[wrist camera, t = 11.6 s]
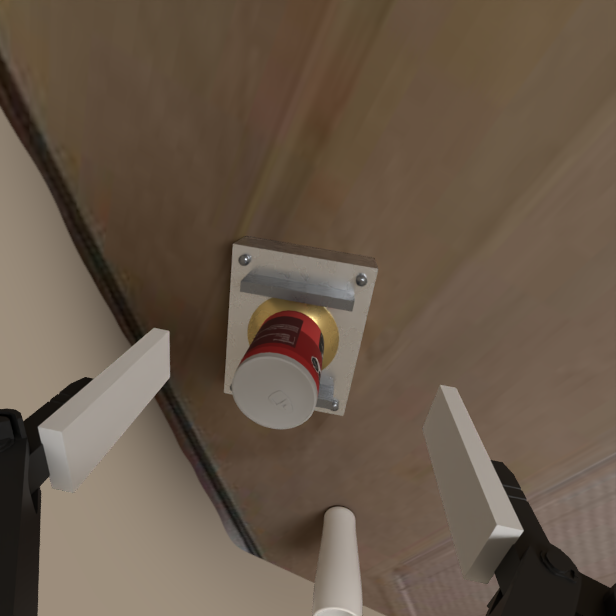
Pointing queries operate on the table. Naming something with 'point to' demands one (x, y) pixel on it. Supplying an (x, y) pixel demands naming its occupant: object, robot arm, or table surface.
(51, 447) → the robot arm
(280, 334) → the canned food
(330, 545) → the drinking glass
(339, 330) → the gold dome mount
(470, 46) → the table surface
